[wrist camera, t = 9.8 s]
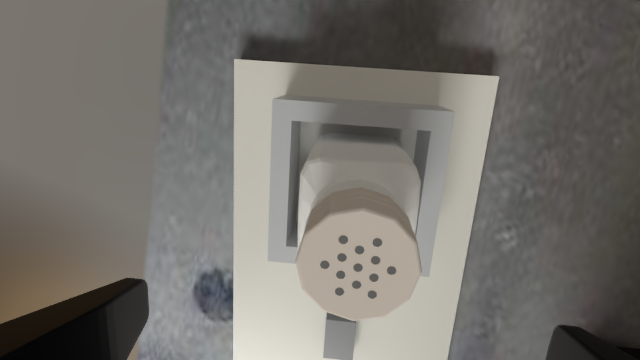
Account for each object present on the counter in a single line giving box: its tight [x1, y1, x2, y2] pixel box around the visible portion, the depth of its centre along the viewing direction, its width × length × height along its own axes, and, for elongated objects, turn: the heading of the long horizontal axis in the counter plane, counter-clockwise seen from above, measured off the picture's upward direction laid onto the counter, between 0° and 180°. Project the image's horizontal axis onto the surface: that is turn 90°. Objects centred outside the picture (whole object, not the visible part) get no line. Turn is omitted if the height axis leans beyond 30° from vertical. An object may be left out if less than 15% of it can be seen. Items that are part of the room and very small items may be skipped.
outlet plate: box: [233, 59, 499, 360], centre depth 19 cm, size 18×12×4 cm, turn 176°
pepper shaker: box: [295, 133, 422, 321], centre depth 14 cm, size 4×4×10 cm
